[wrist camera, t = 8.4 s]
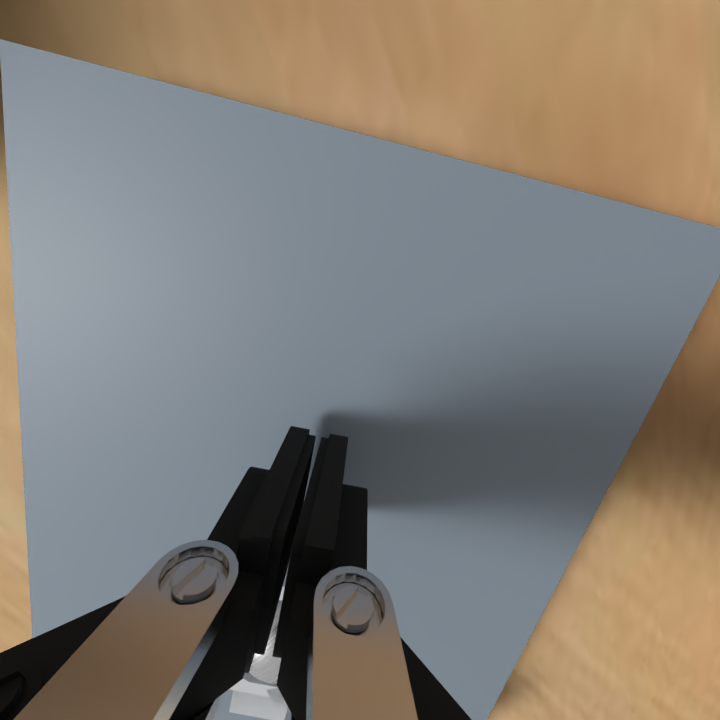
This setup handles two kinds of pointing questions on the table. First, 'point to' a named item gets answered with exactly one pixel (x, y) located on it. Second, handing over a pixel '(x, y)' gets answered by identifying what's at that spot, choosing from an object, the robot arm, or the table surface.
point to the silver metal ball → (268, 656)
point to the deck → (321, 350)
